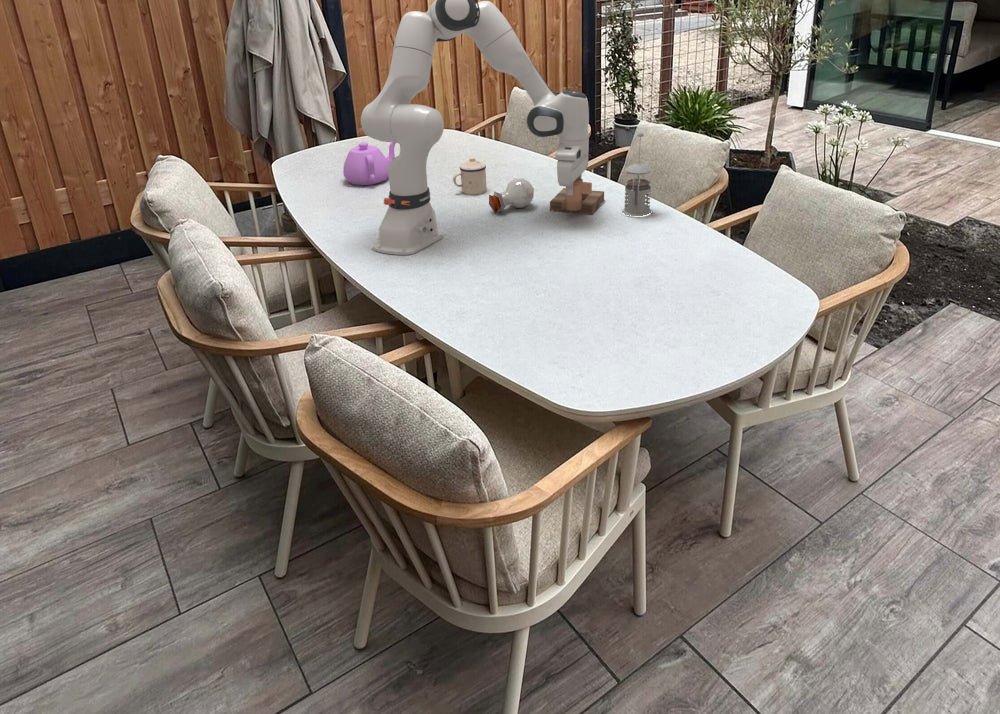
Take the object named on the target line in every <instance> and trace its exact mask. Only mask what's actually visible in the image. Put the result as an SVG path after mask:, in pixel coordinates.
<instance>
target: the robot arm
mask: <svg viewBox="0 0 1000 714" xmlns="http://www.w3.org/2000/svg"><path fill="white" fill-rule="evenodd" d="M400 19H401V20H400V22H399V25H398V29H397V32H396V35H395V39H394V44H393V51H392V57H391V62H390V67H389V71H388V76H387V78H386V81H385V83H384V85H383V88H382V89H381V90H380V92H379V94H378V95H376V97H375V99H374V100H373V101H371V102H370V103H368V104H366V106H365V107H364V108H363V110H362V112H361V115H360V125H361V129H362V132H363V133H364V134H365V135H366V136H367V137H368V138H371V139H373V140H376V141H380V142H385V143H391V142H392V143H396V144H399V154H398V155H397V156H395V158H394V159H393V160H392V161H391V162H390V163H389V166H388V175H389V176H388V182H389V189H390V190H389V193H388V194H389V195H388V197H384V198H383V204H384V206H388V209H387V211H386V213H385V215H384V217H383V219H382V221H381V223H380V226H379V229H378V233H379V234H378V236H379V237H378V239H377V240H376V241H375V242H374V244H373V245H372V246H371V247H372V250H373V251H375V252H378V253H382V254H388V255H398V256H399V255H401V256H403V255H405V256H406V255H407V256H408V255H414V254H416V253H418V252H420V251H421V250H423V249H425V248H427V247H428V246H430V245H432V244H433V243H436V242H437V241H439V240H441V239H442V238H443V234H442V232H440V231H439V227H438V221H437V215H436V211H435V209H434V207H433V206H432V204H431V203H430V202H431V192H430V187H429V186H428V175H427V174H428V173H427V161H428V157H429V153H430V151H431V150H432V148H433V147H434V145H436V144H437V143H438V142H439V141H440V140H441V138H442V136H443V133H444V128H445V123H444V118H443V117H442V113H440V111H439V110H438V109H436V108H434V107H431V106H428V105H425V104H424V105H423V104H417V103H416V104H415V103H412V101H413V99H414V98H415V97H416V96H417V94H419V93H421V92H423V91H424V90H426V88H427V86H428V85H429V82H430V76H431V69H432V63H433V57H434V49H435V45H436V42H437V43H438V42H441V43H442V42H444V43H445V42H450V41H453V40H454V39H455V38H457V37H458V36H460V35H462V34H464V35H467V36H468V37H470V39H472V41H473V42H474V43H475V45H476V46H477V48H478V50H479V51H480V54H481V55H482V57H483V58H484V60H485V61H486V62H487V63H488V64H489V65H490V67H491V68H493V70H495V71H496V72H500V73H504V74H507V75H510V76H512V77H513V78H515V79H516V80H517V81H518V82H519V83H520V85H521V86H522V88H523V89H524V91H525V92H526V93H527V95H528V96H529V98H530V99H531V101H532V103H533V107H532V108H531V109H530V110H529V112H528V114H527V117H526V125H527V129H528V130H529V131H530V133H532V135H534V136H536V137H539V138H546V137H547V138H548V137H554V136H558V147H557V149H556V151H555V156H554V157H555V160H557V162H556V174H557V177H556V178H557V183H558V185H559V186H560V187H565V188H567V195H570V196H572V195H573V194H574V189H573V184H574V181H575V180H576V179H577V178H581V179H582V177H583V173H584V172H585V171H586V170H588V166H589V143H590V142H589V141H590V140H589V139H590V137H589V132H588V131H589V130H588V128H589V123H590V111H589V110H590V107H589V101H588V98H587V96H586V94H585V93H583V92H582V91H579V90H577V89H564V90H562V91H560V93H559V94H558V93H556V92H555V91H553V90H552V88H551V87H550V86H549V85H548V84H547V81H546V80H545V79H544V77H543V76H542V75H541V73H540V72H539V70H538V69H537V67H536V65H534V63H533V62H532V60H531V59H530V57H529V55H528V54H527V52H526V50H525V49H524V47H523V45H522V43H521V41H520V39H519V37H518V35H517V34H516V32H515V30H514V29H513V27H512V25H511V24H510V23H509V21H508V20H507V18H506V17H505V16H504V15H503V13H502V12H501V10H499V9H498V7H497V6H496V5H495V4H494V3H493V2H492V1H490V0H481V1H479V2H478V1H477V0H434V1H433V2H432V4H430V7H429V8H428V9H427V10H426V12H422V11H418V10H413V11H412V10H411V11H408V12H406V13H405V14H404V15H403V16H402V17H401V18H400Z"/></svg>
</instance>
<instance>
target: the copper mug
mask: <svg viewBox="0 0 1000 714" xmlns="http://www.w3.org/2000/svg"><path fill="white" fill-rule="evenodd" d="M565 188H566V187H565ZM573 189H574V194H573V195H572V196H570V195H567V188H566V209H567V210H569V211H578V210H581V209H582V194H591V193H592V191H593V182H588V181H587V182H586V181H584V180H583V178H582V177H581V178H577V179H576V180H575V181H574V184H573Z"/></svg>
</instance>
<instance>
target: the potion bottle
mask: <svg viewBox="0 0 1000 714" xmlns="http://www.w3.org/2000/svg"><path fill="white" fill-rule="evenodd" d="M534 195H535V188H534V187H533V184H531V182H530V181H528V180H527V179H525V178H514V179H512V180H511V181H510V182H508V183H507V186H506V188H505V191H503V192H498V191H495V190H494V191H493V195H491V194H488V205H489V207H490V208H491V210H492V211H493V213H494V214H497V212H498V211H499V212H500V213H501V212H503V211H504V209H506V207H507V206H510V205H511V206H512V207H514V208H516V209H523V208H526V207H527V206H529V205H531V203H532V202H533V199H534Z"/></svg>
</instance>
